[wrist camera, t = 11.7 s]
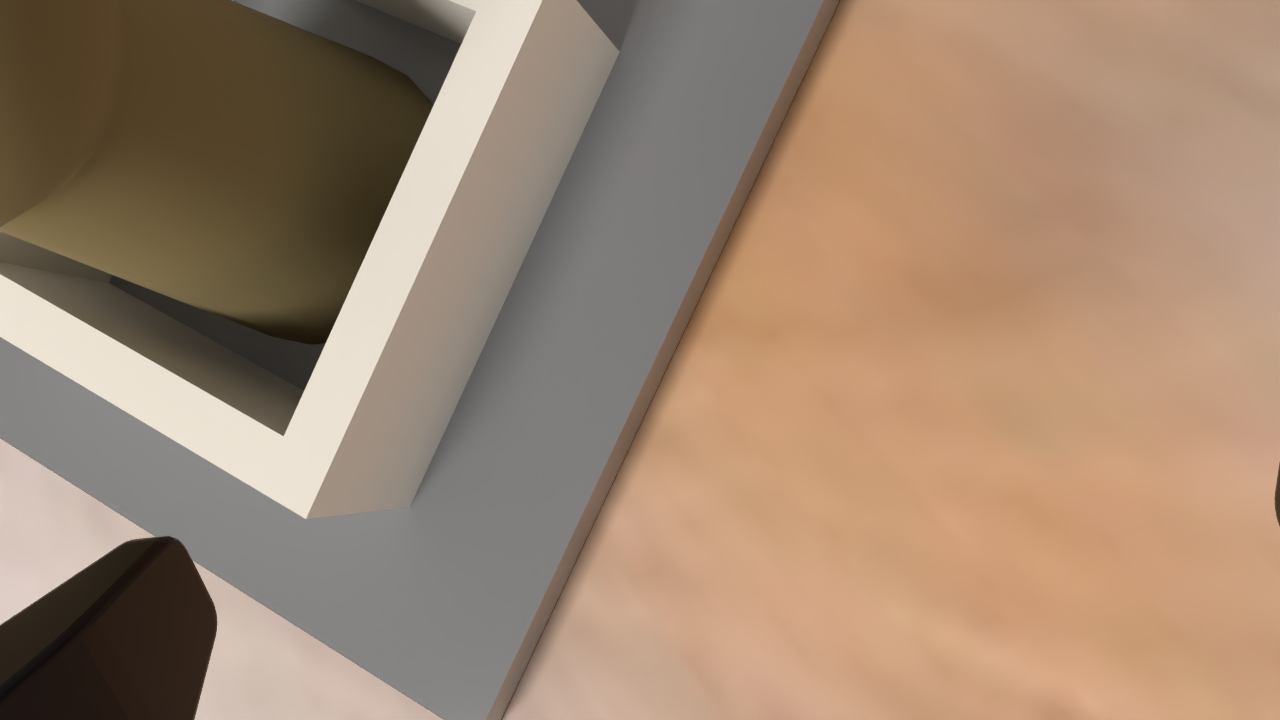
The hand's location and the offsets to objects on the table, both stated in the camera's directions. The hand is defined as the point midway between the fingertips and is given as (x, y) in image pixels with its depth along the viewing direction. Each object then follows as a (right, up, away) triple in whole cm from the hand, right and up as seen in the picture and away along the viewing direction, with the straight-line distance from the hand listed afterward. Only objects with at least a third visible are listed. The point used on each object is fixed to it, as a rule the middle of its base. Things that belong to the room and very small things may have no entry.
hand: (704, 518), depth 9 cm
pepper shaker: (-7, +5, +13) cm, 16 cm away
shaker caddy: (-7, +5, +14) cm, 16 cm away
